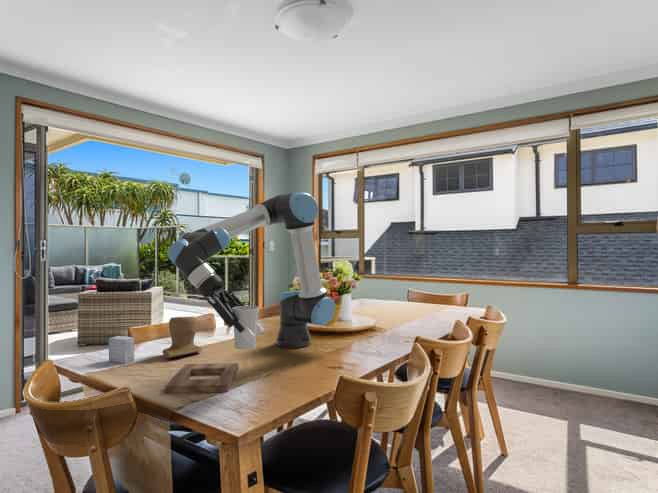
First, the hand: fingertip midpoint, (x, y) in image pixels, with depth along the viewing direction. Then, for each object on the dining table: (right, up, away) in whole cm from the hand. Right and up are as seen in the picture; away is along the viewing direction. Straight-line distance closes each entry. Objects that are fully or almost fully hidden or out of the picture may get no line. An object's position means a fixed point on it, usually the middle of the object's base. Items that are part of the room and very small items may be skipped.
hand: (256, 335), depth 124 cm
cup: (-3, -4, +1) cm, 5 cm away
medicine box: (-54, -15, +26) cm, 62 cm away
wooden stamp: (-36, -15, +35) cm, 53 cm away
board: (-17, -15, +6) cm, 24 cm away
